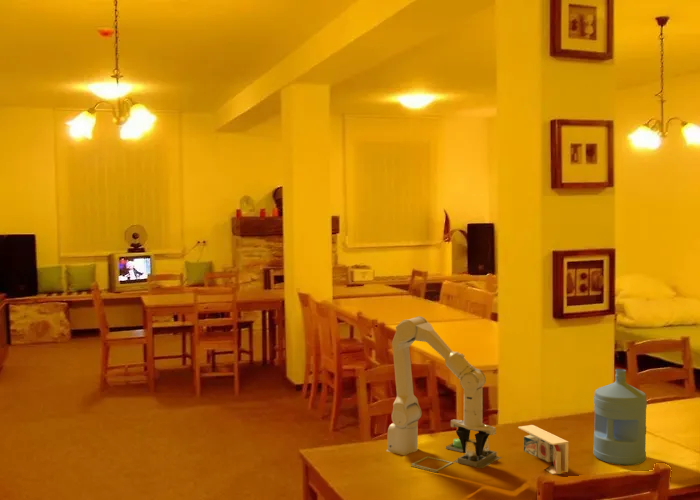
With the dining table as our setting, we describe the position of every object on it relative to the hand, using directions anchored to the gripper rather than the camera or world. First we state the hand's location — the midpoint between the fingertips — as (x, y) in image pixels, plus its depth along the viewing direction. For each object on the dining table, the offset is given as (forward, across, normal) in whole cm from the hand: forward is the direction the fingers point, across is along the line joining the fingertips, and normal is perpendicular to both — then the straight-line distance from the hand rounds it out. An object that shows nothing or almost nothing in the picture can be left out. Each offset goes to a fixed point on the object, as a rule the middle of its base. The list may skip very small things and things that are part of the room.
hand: (472, 453), depth 227 cm
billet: (+2, 0, 0) cm, 2 cm away
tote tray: (+4, +9, +9) cm, 13 cm away
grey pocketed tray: (+4, 0, -3) cm, 5 cm away
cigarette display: (+4, -16, -15) cm, 22 cm away
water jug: (+4, -33, -35) cm, 48 cm away
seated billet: (+3, 0, -6) cm, 7 cm away
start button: (+3, +10, -9) cm, 14 cm away
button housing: (+4, +10, -9) cm, 14 cm away
